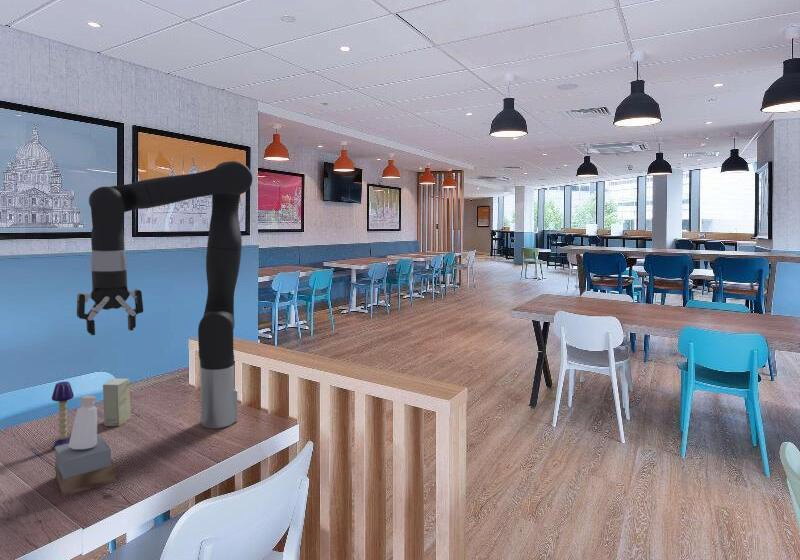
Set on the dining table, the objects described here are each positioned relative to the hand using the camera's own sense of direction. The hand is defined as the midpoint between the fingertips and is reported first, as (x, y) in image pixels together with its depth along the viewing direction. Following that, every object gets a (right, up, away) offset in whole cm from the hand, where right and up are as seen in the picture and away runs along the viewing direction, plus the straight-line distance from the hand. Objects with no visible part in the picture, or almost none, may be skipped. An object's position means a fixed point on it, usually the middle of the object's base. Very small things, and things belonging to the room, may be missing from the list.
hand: (112, 332), depth 124 cm
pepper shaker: (+2, -24, -14) cm, 28 cm away
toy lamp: (-14, -30, +3) cm, 33 cm away
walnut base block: (+2, -32, -13) cm, 35 cm away
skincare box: (-9, -28, +18) cm, 35 cm away
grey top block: (+2, -28, -14) cm, 31 cm away
